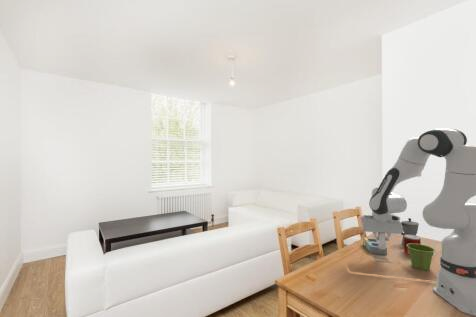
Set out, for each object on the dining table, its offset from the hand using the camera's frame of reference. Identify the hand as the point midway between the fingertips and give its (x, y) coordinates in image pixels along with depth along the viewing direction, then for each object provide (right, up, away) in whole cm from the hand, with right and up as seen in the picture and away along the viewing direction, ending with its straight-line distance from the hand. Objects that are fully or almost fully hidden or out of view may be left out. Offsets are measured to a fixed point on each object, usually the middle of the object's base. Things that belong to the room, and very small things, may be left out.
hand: (381, 240), depth 130 cm
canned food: (+23, -12, +8) cm, 27 cm away
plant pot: (+15, -12, -10) cm, 21 cm away
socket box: (+5, -12, +15) cm, 20 cm away
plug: (0, -5, 0) cm, 5 cm away
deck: (0, -12, +1) cm, 12 cm away
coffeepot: (+33, -12, +23) cm, 42 cm away
